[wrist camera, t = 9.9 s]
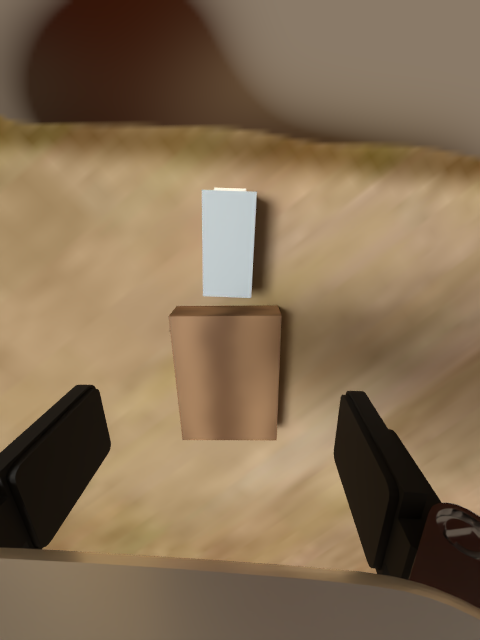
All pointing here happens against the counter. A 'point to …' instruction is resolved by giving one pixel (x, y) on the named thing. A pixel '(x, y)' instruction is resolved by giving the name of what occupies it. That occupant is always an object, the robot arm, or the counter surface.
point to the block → (228, 241)
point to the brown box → (227, 371)
